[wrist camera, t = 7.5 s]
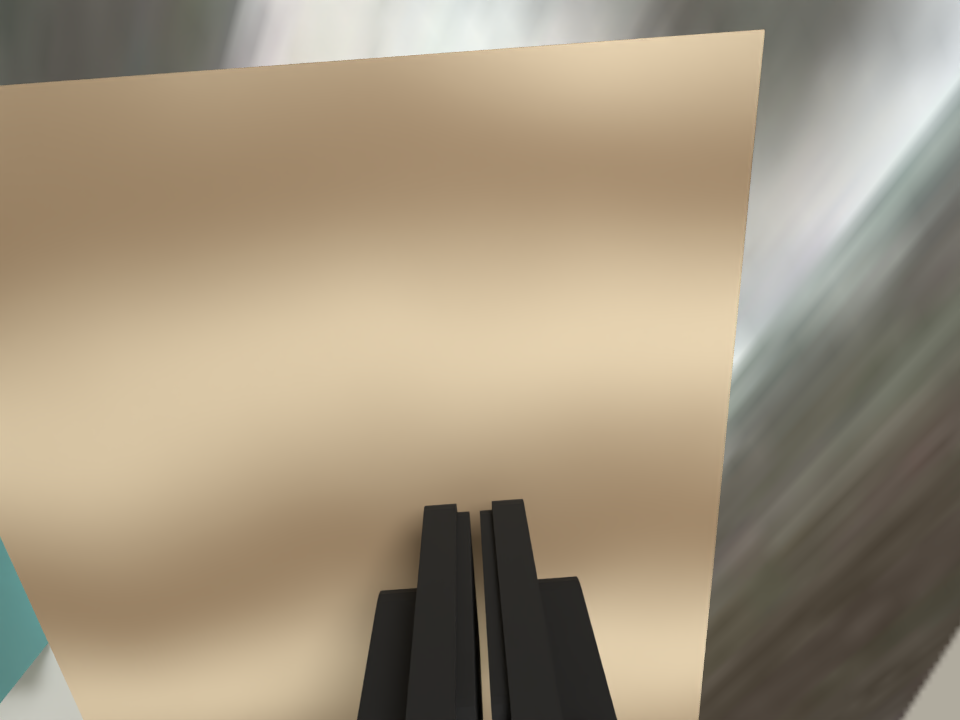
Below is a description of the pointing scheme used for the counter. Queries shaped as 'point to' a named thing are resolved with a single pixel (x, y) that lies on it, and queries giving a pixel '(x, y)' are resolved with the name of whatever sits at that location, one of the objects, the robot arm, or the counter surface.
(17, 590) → the teal sticky note pad
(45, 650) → the mat
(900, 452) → the counter surface
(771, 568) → the counter surface
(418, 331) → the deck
